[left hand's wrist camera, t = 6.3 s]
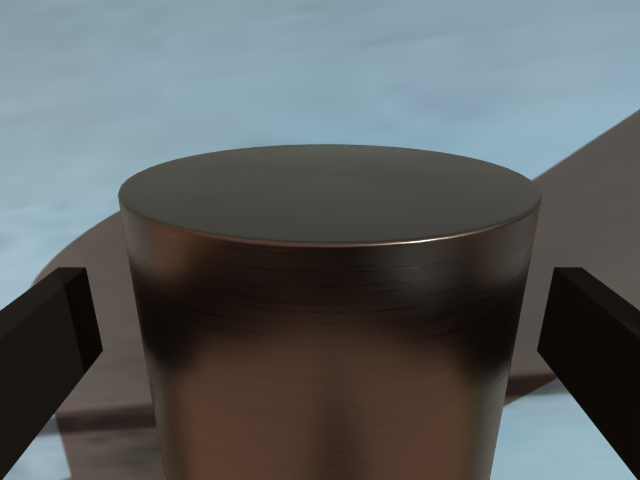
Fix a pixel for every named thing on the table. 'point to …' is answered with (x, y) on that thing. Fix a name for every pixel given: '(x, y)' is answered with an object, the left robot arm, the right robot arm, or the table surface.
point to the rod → (328, 309)
